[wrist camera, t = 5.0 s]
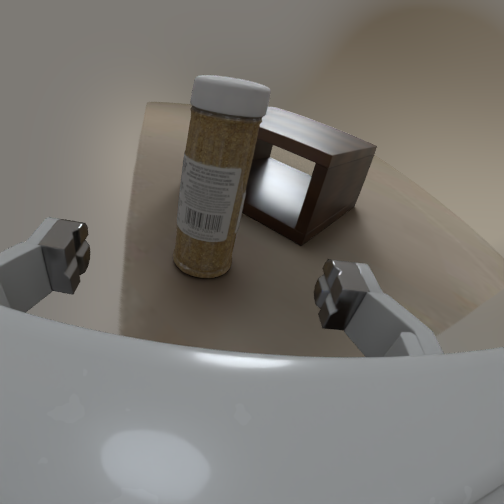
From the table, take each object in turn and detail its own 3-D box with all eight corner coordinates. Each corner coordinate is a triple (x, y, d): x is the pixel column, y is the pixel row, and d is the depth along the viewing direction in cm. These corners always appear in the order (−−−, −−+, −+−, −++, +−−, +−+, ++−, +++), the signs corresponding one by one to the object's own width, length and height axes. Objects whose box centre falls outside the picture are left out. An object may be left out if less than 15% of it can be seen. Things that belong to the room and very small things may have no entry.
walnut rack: (301, 246, 28) (332, 155, 23) (184, 180, 35) (195, 106, 29) (354, 206, 40) (377, 146, 35) (261, 161, 46) (275, 107, 41)
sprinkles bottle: (240, 259, 25) (283, 88, 17) (211, 290, 21) (253, 85, 13) (193, 237, 26) (220, 74, 18) (159, 262, 22) (179, 72, 14)
